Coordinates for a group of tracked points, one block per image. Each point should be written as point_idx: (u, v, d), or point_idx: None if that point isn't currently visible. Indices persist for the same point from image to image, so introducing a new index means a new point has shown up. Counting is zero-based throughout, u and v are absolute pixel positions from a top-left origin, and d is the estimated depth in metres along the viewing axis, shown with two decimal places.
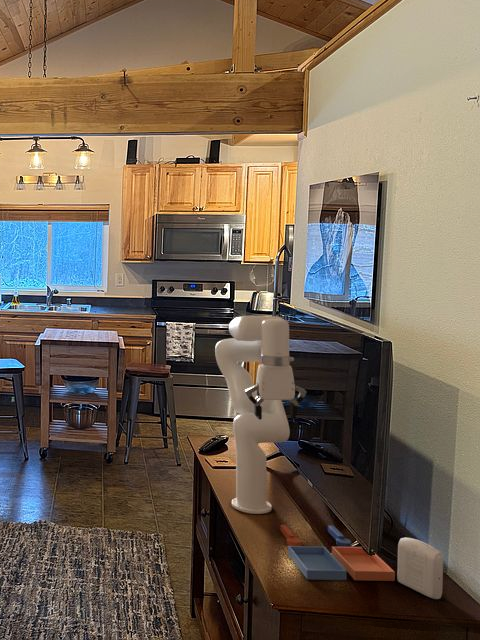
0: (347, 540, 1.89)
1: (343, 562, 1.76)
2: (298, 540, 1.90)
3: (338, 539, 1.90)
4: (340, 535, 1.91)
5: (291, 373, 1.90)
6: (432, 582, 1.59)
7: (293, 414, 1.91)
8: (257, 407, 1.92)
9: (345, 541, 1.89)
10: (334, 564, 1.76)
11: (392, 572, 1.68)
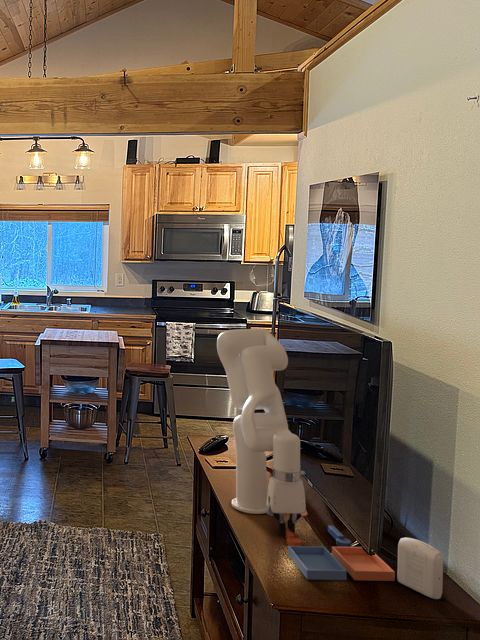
0: (347, 540, 1.89)
1: (343, 562, 1.76)
2: (298, 540, 1.90)
3: (338, 539, 1.90)
4: (340, 535, 1.91)
5: (302, 488, 1.93)
6: (432, 582, 1.59)
7: (291, 531, 1.95)
8: (281, 524, 1.95)
9: (345, 541, 1.89)
10: (334, 564, 1.76)
11: (392, 572, 1.68)
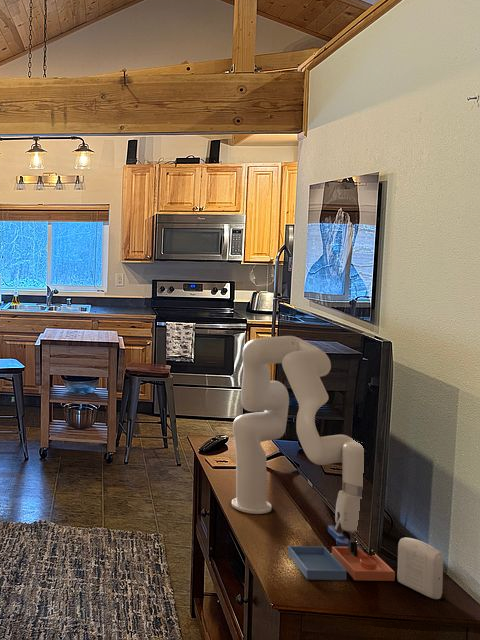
0: (347, 540, 1.89)
1: (343, 562, 1.76)
2: (373, 561, 1.72)
3: (338, 539, 1.90)
4: (340, 535, 1.91)
5: None
6: (432, 582, 1.59)
7: None
8: (352, 543, 1.77)
9: (345, 541, 1.89)
10: (334, 564, 1.76)
11: (392, 572, 1.68)
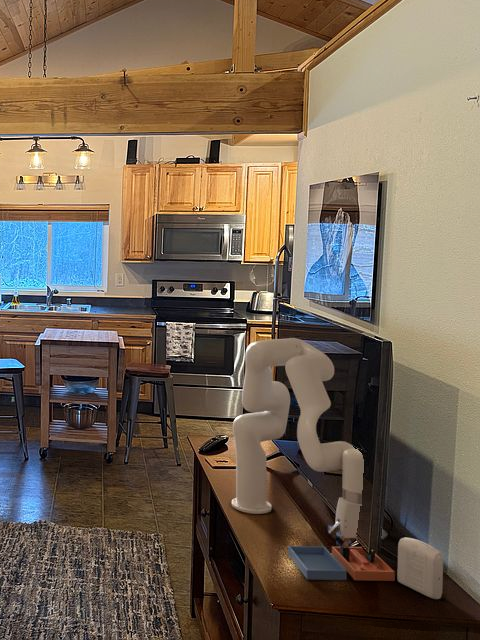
0: None
1: (343, 562, 1.76)
2: (373, 568, 1.72)
3: None
4: (340, 535, 1.91)
5: None
6: (432, 582, 1.59)
7: (371, 557, 1.76)
8: (344, 548, 1.78)
9: None
10: (334, 564, 1.76)
11: (392, 572, 1.68)
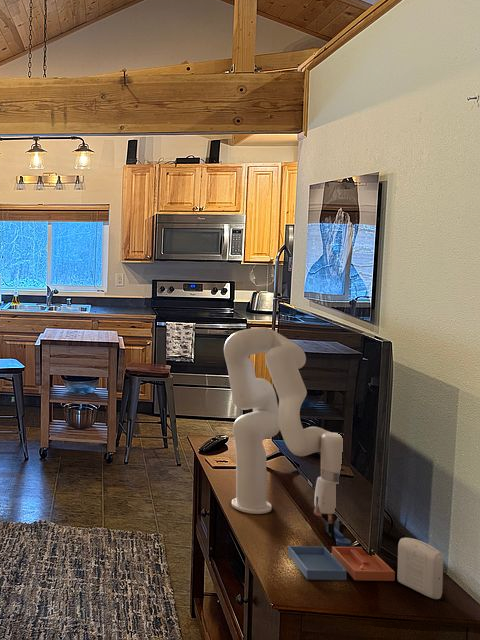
0: (347, 540, 1.89)
1: (343, 562, 1.76)
2: (373, 568, 1.72)
3: (338, 539, 1.90)
4: (340, 535, 1.91)
5: None
6: (432, 582, 1.59)
7: None
8: (329, 525, 1.94)
9: (345, 541, 1.89)
10: (334, 564, 1.76)
11: (392, 572, 1.68)
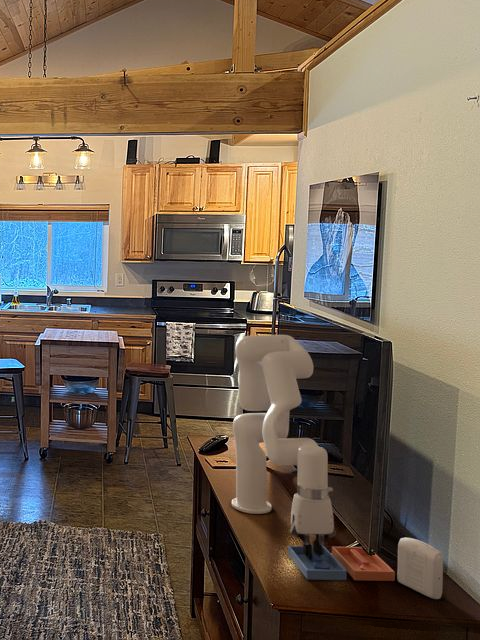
0: (325, 564, 1.73)
1: (343, 562, 1.76)
2: (373, 568, 1.72)
3: (316, 563, 1.74)
4: (318, 558, 1.75)
5: (330, 506, 1.76)
6: (432, 582, 1.59)
7: (318, 554, 1.78)
8: (307, 546, 1.78)
9: (324, 565, 1.73)
10: (334, 564, 1.76)
11: (392, 572, 1.68)
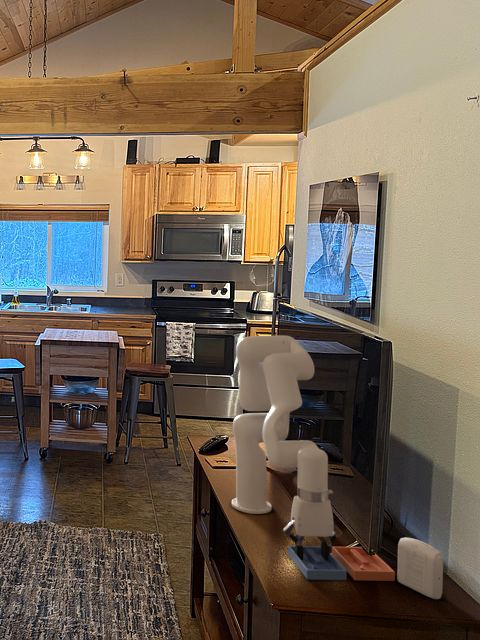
0: (325, 566, 1.73)
1: (343, 562, 1.76)
2: (373, 568, 1.72)
3: (316, 565, 1.74)
4: (318, 560, 1.75)
5: (330, 509, 1.76)
6: (432, 582, 1.59)
7: (326, 555, 1.78)
8: (298, 546, 1.79)
9: (324, 567, 1.73)
10: (334, 564, 1.76)
11: (392, 572, 1.68)
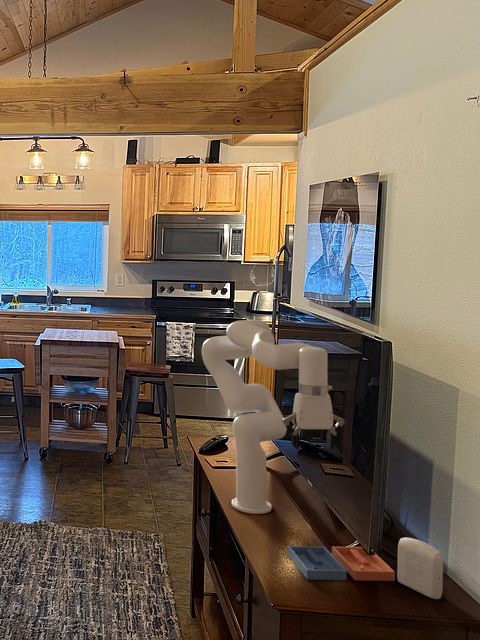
0: (325, 566, 1.73)
1: (343, 562, 1.76)
2: (373, 568, 1.72)
3: (316, 565, 1.74)
4: (318, 560, 1.75)
5: (329, 402, 1.87)
6: (432, 582, 1.59)
7: (331, 444, 1.88)
8: (294, 436, 1.89)
9: (324, 567, 1.73)
10: (334, 564, 1.76)
11: (392, 572, 1.68)
